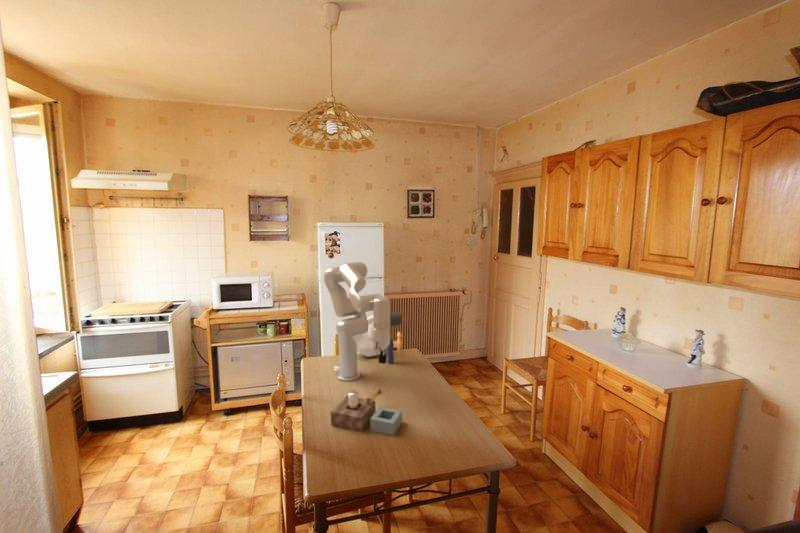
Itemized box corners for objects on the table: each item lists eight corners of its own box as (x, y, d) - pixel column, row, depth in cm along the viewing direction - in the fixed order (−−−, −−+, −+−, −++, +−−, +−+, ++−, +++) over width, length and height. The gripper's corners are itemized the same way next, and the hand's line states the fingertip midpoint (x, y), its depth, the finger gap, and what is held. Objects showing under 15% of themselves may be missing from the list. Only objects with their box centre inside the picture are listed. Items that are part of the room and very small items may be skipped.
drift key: (365, 403, 156) (364, 397, 156) (374, 392, 166) (374, 386, 166) (372, 404, 155) (372, 399, 155) (382, 393, 165) (382, 388, 164)
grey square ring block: (370, 430, 147) (370, 418, 146) (380, 417, 156) (379, 406, 156) (393, 435, 144) (393, 423, 143) (401, 421, 153) (401, 410, 152)
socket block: (331, 425, 151) (330, 411, 150) (347, 408, 164) (346, 395, 163) (361, 431, 146) (361, 417, 145) (375, 413, 159) (375, 401, 158)
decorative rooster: (379, 348, 238) (379, 311, 235) (387, 356, 223) (386, 317, 220) (341, 352, 230) (340, 314, 226) (346, 362, 215) (345, 321, 212)
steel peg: (347, 421, 154) (346, 394, 152) (351, 416, 158) (351, 390, 156) (356, 422, 153) (355, 395, 151) (360, 417, 156) (359, 391, 155)
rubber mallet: (399, 359, 219) (399, 310, 215) (402, 364, 212) (401, 314, 208) (379, 361, 217) (378, 312, 213) (380, 366, 210) (380, 315, 205)
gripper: (380, 319, 174) (381, 356, 176) (367, 328, 160) (368, 368, 162) (395, 320, 171) (395, 357, 174) (383, 329, 157) (384, 370, 160)
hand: (382, 362), depth 168 cm, fingers closed
